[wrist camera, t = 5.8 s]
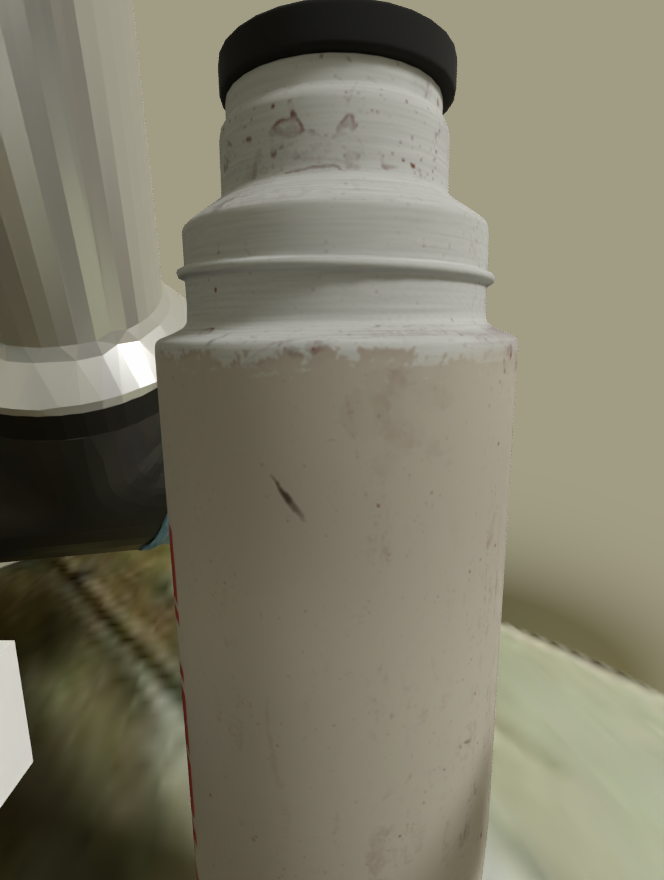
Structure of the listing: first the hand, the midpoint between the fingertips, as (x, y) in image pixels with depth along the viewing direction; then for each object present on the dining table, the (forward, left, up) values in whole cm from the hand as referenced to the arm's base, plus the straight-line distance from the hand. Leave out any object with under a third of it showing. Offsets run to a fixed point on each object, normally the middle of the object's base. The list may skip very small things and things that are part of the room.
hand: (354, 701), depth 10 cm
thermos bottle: (-2, +3, -16) cm, 16 cm away
